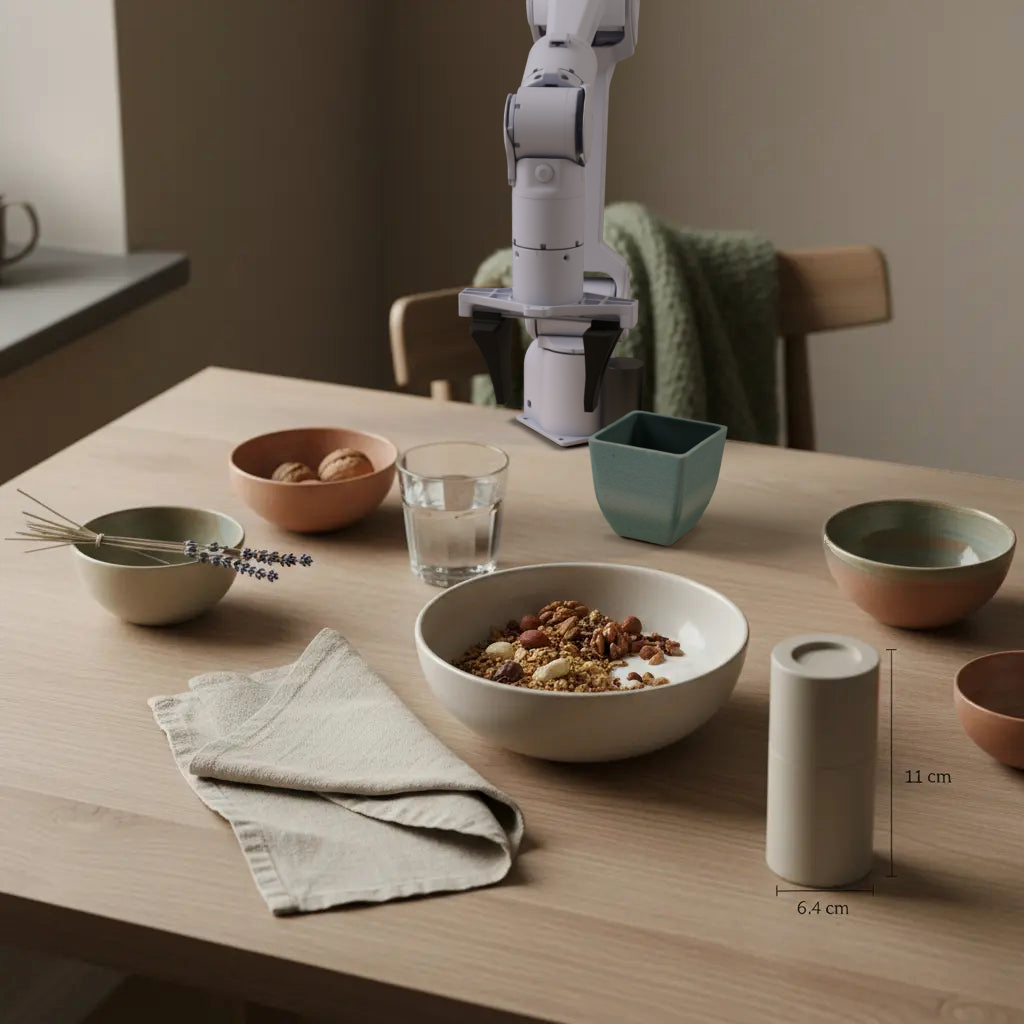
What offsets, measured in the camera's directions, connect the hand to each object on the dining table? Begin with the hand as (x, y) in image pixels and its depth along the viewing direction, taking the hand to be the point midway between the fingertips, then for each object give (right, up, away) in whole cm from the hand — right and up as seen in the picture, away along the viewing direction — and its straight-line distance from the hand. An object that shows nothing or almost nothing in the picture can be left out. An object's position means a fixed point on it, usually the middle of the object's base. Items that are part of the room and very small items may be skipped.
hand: (546, 404), depth 125 cm
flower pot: (+9, -11, +2) cm, 14 cm away
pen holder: (+8, -2, +22) cm, 23 cm away
